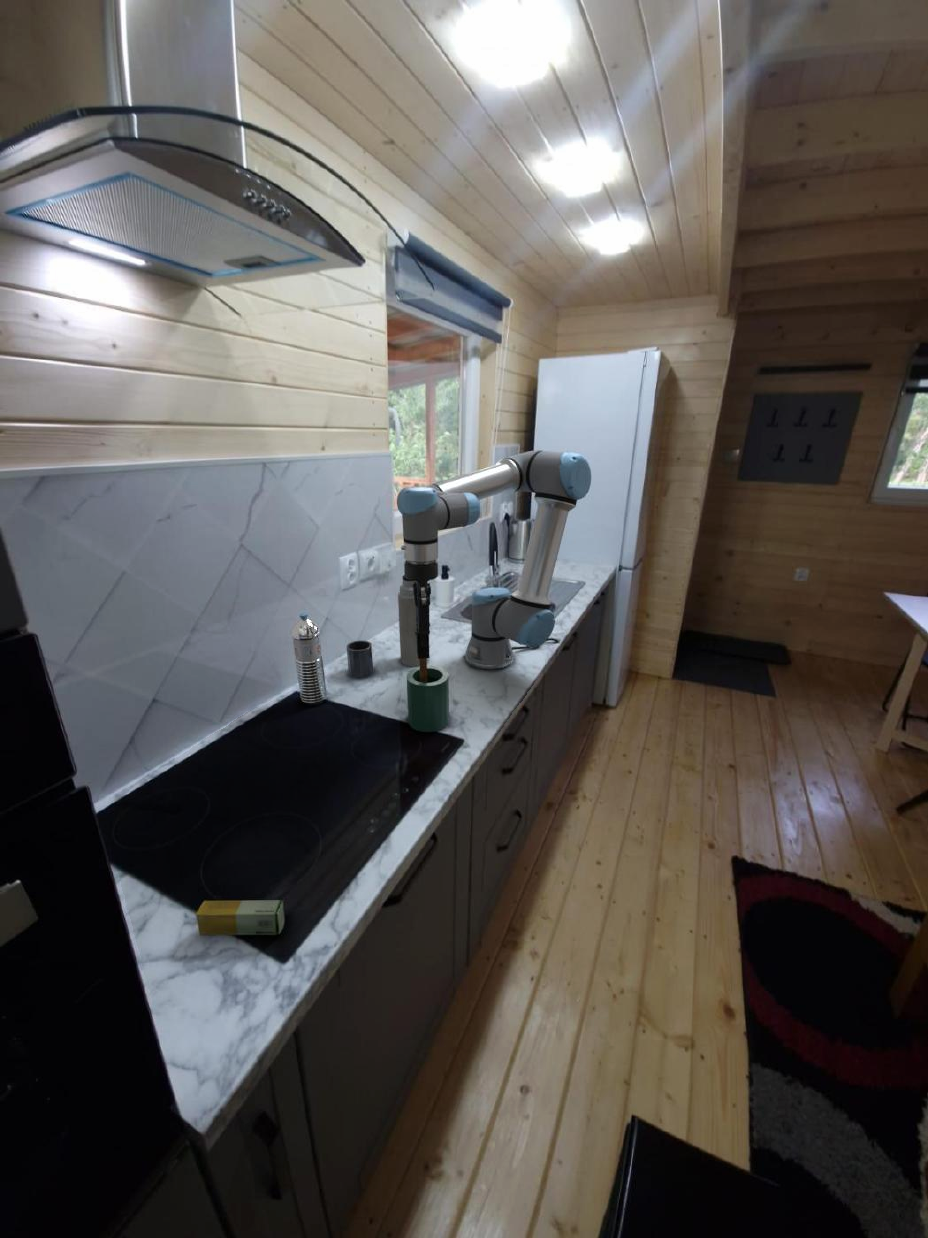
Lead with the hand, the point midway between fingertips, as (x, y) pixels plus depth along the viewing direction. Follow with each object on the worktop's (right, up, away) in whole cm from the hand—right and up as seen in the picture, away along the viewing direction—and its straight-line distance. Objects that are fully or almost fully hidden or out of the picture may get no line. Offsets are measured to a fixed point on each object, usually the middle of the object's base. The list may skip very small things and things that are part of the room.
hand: (423, 655), depth 118 cm
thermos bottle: (-6, -5, +38) cm, 39 cm away
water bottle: (-31, -13, +16) cm, 37 cm away
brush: (0, -14, +6) cm, 15 cm away
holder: (-21, -7, +30) cm, 38 cm away
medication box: (-23, -38, -44) cm, 63 cm away
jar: (+1, -17, +7) cm, 19 cm away
